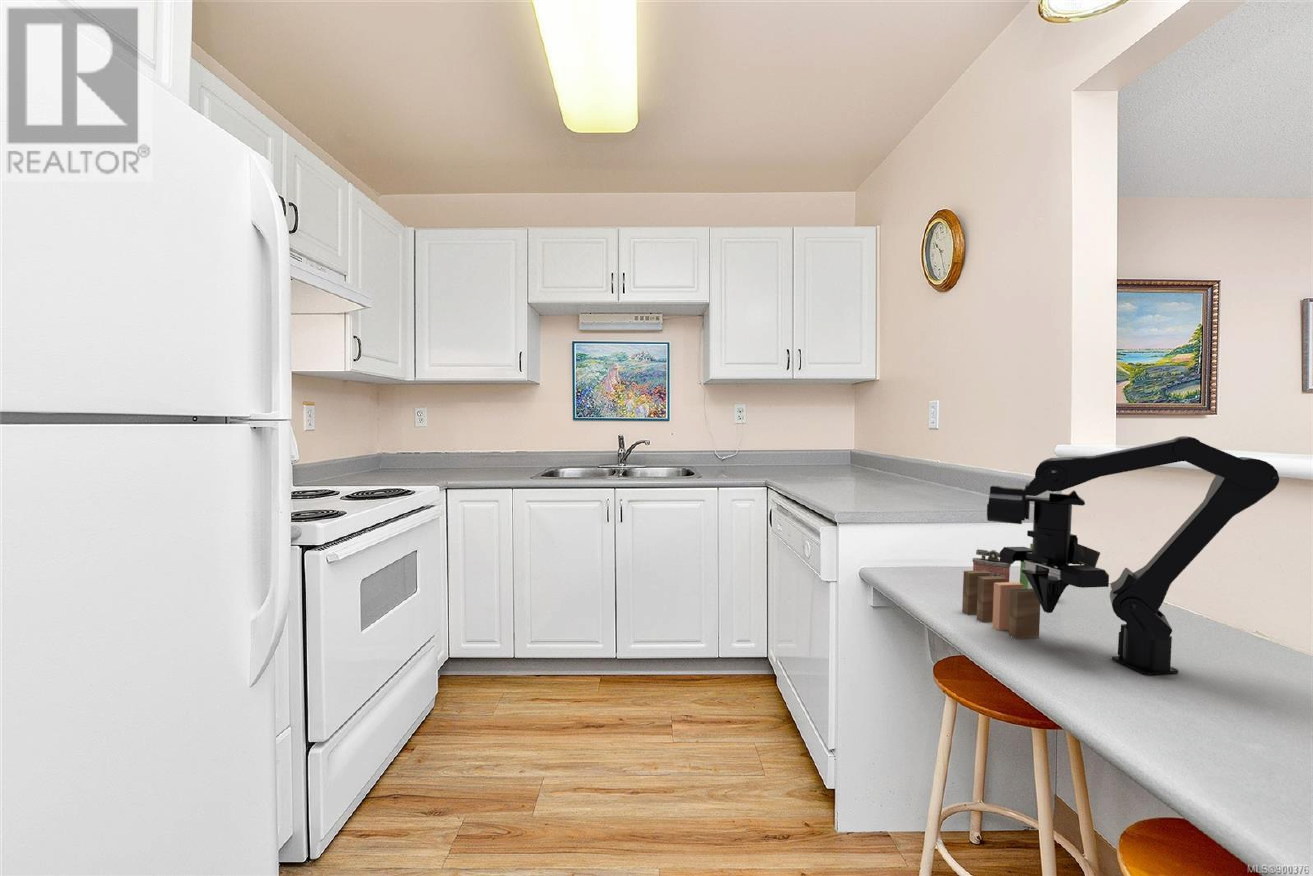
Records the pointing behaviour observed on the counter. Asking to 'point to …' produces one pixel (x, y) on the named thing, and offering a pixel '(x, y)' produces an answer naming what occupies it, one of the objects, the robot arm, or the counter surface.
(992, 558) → the lighter
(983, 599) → the domino
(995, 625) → the domino
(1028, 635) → the domino
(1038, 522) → the robot arm
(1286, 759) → the counter surface
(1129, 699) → the counter surface
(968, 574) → the domino
